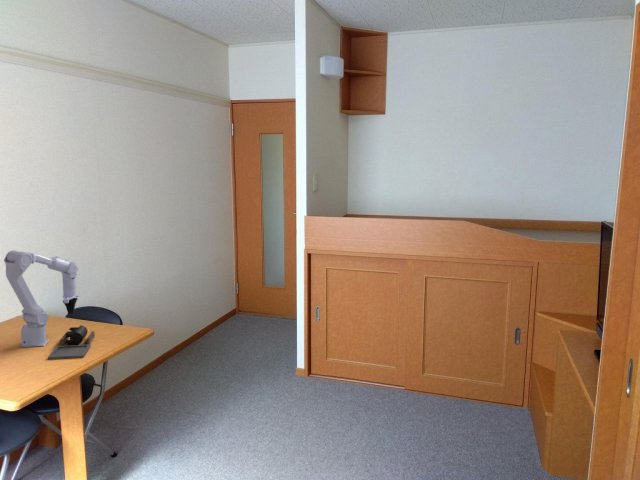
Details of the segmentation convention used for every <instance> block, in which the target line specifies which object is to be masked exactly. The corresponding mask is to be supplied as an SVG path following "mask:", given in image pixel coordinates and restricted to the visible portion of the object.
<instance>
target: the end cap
mask: <svg viewBox="0 0 640 480" xmlns="http://www.w3.org/2000/svg"><path fill="white" fill-rule="evenodd" d="M68 330H69V331H66V332H65V333H66V338H67V337H69V339H68V340H66V343H65V346H68V345H81V344H82V342H83V341H84V340H85V338H86V336H87V335H88V332H89V331H88V329H87V327H86V326H84V325H79V326H77V327H75V326H74V327H70V328H69V329H68Z"/></svg>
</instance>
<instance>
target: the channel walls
mask: <svg viewBox="0 0 640 480" xmlns="http://www.w3.org/2000/svg"><path fill="white" fill-rule="evenodd" d="M66 333H67V332H65V333H64V335H63V336H62V337H61V338H60V339H59V346H65V345H66V340H70V337H67V338H66ZM95 335H96V334H95V331H91V332H90V333H89V335H88V336H87V338H86V345H89V344H92V342H93V341H94V339H95V337H96V336H95Z"/></svg>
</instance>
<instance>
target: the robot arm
mask: <svg viewBox="0 0 640 480" xmlns="http://www.w3.org/2000/svg"><path fill="white" fill-rule="evenodd" d="M3 262H4V264H5V276H6V279H7V281H8V282H9V284H10V287H11V288H12V290H13V291H14V294H15V296H16V297H17V299H18V302H19V303H20V304H21V306H22V310H21V313H22V319H23V321H24V322H25V324H23V325H22V327H21V329H20V337H21V347H20V348H27V347H28V348H29V347H45V345H47V344H48V342H49V341H50V338H47V330H46V329H47V328H46V326H47V323H48V321H49V319H50V317H49V313H48V312H46V311H45V310H44V308H43V307H41V306H40V305H39V304H37V301H36V300H35V297H34V296H33V294H32V292H31V290H30V287H29V286H28V285H27V283H26V281H25V278H24V277H23V274H24V273H25V272H26V271H27V270H28V268H29V267H30V266H31V265H32V264H35V263H38V264H42V265H45V266H47V268H48V269H49V270H53V271H57V272H60V274H62V276H61V277H62V278H61V279H62V294H63V295H62V297H63V300H62V303H63V304H64V306H65V307H66V308H65V309H66V311H67V313H68V315H74V313H75V307H76V304H77V301H78V297H80V294H78V291H77V272H79V266H78V265H77V264H76V263H75V262H74V261H73V262H72V261H69V259H64V258H63V259H62V258H60V256H52V257H50V258H49V257H46V256H44V255H40V254H37V253H35V252H33V253H32V252H27V251H17V250H10V251H8V252H7V253H6V255H5V257H4V259H3Z"/></svg>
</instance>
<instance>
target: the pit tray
mask: <svg viewBox="0 0 640 480" xmlns="http://www.w3.org/2000/svg"><path fill="white" fill-rule="evenodd" d="M91 344H92V343H91ZM91 344H89V345H87V344H79V345H68V346H66V345H64V346H60V345H56V346H55V348H54V349H53V350H52V351H51V352H50V354H49V355H48V356H47V360H63V359H80V358H82V359H83V358H85V357H86V354H87V353H88V352H89V349H90V348H91V347H92V346H91Z"/></svg>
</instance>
